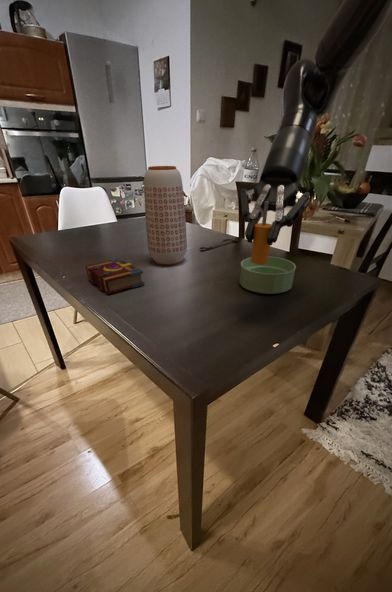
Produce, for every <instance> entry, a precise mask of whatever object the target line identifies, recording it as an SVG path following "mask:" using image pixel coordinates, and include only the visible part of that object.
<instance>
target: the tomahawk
mask: <svg viewBox="0 0 392 592" xmlns="http://www.w3.org/2000/svg"><path fill="white" fill-rule="evenodd" d="M233 242H234V243H238V242H239V239H231V238H227V239H223V240H222V242H219V243H215V244H212V245H209V246H208V247H204V246H201V247H199V250H212V249H215V248H220V247H222V246H226V245H228V244H232V243H233Z"/></svg>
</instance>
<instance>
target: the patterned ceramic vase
mask: <svg viewBox="0 0 392 592" xmlns="http://www.w3.org/2000/svg"><path fill="white" fill-rule="evenodd" d="M143 177H144V178H143V186H144V187H143V197H144V198H143V199H144V215H145V229H146V241H147V250H148V253H149V256H150V257H151V258H152V260H153V261H154V262H155V263H156V264H157V265H160V266H168V267H169V266H175V265H178V264H180V263H181V262H182V260H184V258H185V256H186V254H187V251H188V241H187V240H188V239H187V221H186V220H187V219H186V208H185V206H186V205H185V196H184V195H185V194H184V185H183V179H182V175H181V172H180V170H179V169H178V168H177V166H175V165H152V166H148V167H147V170H145V173H144V176H143Z"/></svg>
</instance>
